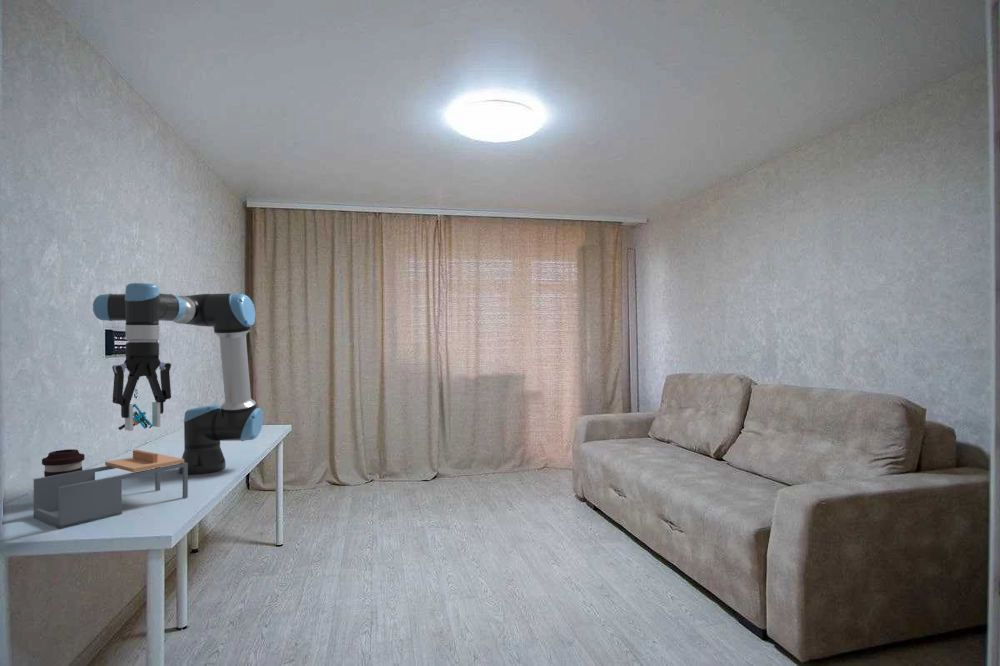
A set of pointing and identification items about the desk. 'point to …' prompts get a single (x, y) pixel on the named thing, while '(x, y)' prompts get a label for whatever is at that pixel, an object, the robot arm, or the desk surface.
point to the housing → (86, 495)
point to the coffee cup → (62, 462)
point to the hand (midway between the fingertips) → (143, 428)
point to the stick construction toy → (139, 419)
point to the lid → (143, 461)
